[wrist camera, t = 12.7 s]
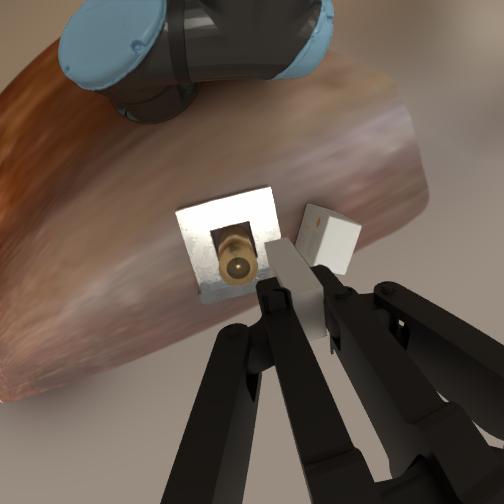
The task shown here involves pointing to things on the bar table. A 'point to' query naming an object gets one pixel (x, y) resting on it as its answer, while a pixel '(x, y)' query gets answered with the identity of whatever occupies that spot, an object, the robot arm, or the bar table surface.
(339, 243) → the small box
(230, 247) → the bushing
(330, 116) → the bar table surface
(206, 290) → the plate
